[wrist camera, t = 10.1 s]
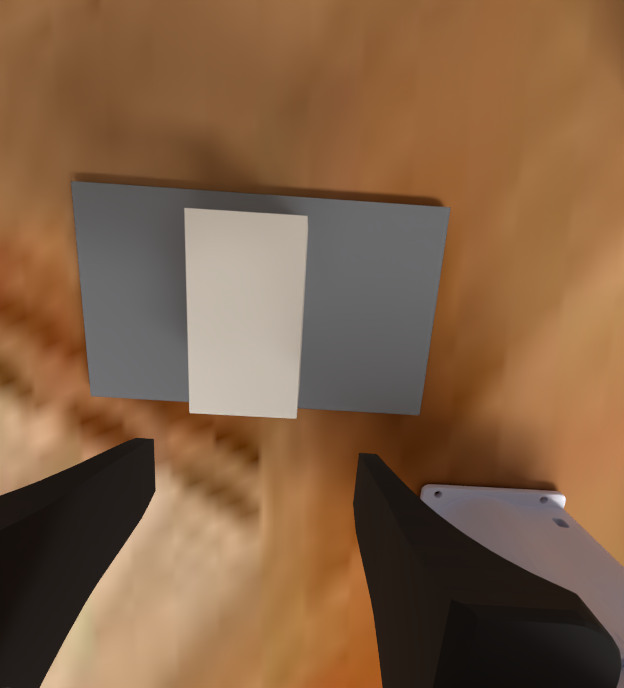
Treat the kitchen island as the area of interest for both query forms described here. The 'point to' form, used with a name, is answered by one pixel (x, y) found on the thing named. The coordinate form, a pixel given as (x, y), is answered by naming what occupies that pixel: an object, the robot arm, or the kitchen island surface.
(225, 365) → the block
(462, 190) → the kitchen island surface
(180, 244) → the mat
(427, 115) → the kitchen island surface
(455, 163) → the kitchen island surface
